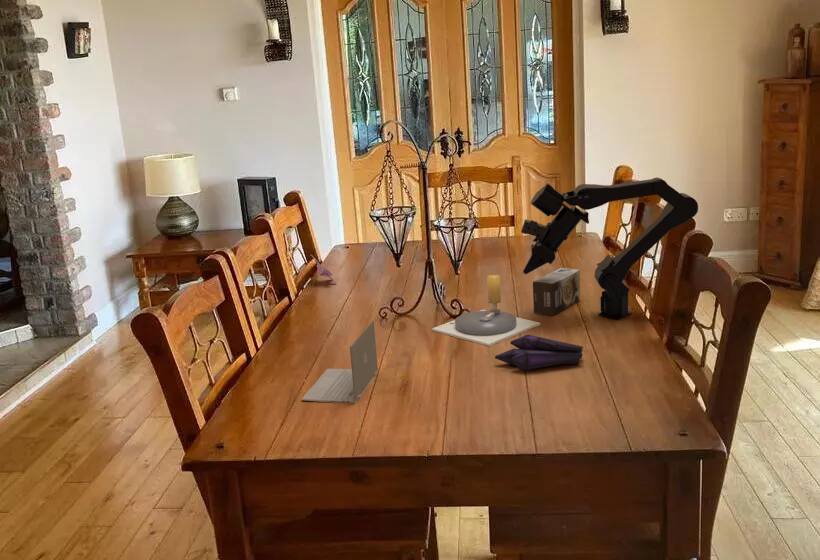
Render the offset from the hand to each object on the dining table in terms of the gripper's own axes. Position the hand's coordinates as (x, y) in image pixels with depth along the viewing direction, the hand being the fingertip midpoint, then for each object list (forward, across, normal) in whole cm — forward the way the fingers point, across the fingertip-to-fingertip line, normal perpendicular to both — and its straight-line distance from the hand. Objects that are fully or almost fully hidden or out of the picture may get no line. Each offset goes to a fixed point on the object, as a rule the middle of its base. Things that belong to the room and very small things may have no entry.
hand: (524, 273), depth 218 cm
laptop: (+38, +45, -20) cm, 62 cm away
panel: (+17, +6, +1) cm, 18 cm away
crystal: (+10, +32, +13) cm, 36 cm away
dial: (+17, +6, +1) cm, 18 cm away
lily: (+50, -40, -45) cm, 78 cm away
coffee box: (-3, -19, +14) cm, 23 cm away
